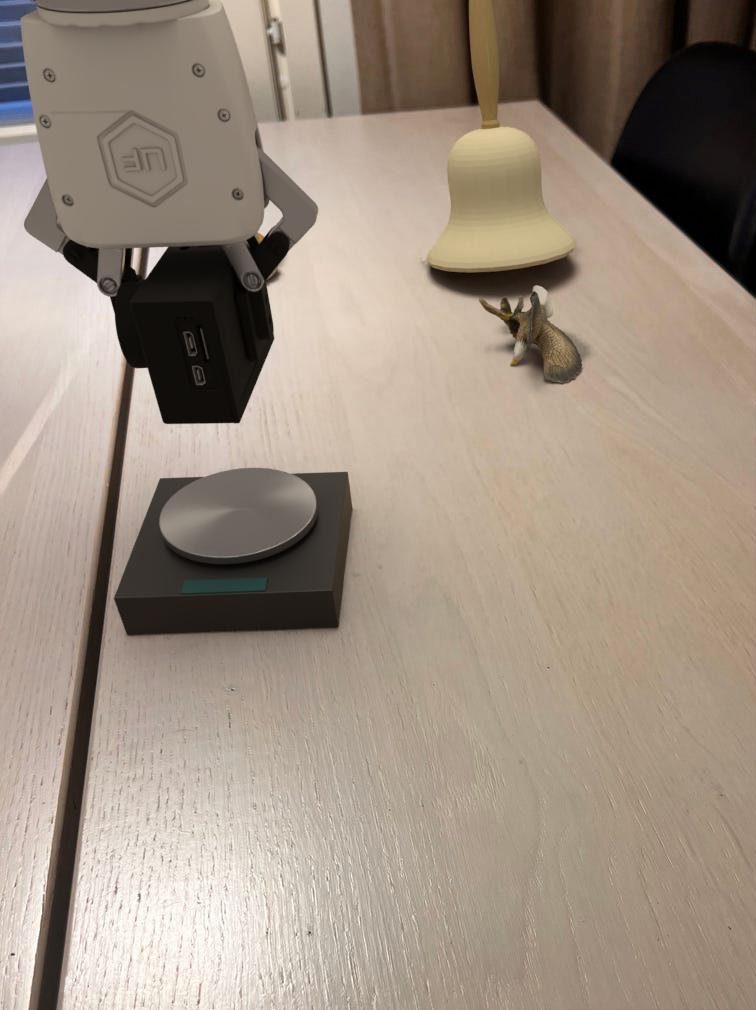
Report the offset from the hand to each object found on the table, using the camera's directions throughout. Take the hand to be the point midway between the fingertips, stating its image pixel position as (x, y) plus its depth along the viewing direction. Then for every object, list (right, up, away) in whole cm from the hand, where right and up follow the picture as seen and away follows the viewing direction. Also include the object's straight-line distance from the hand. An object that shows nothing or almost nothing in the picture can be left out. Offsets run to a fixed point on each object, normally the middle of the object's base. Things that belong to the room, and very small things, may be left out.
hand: (202, 350), depth 56 cm
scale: (0, -12, +9) cm, 15 cm away
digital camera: (0, -2, +1) cm, 2 cm away
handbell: (+18, +22, +46) cm, 54 cm away
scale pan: (0, -9, +7) cm, 12 cm away
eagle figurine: (+21, +8, +30) cm, 37 cm away
